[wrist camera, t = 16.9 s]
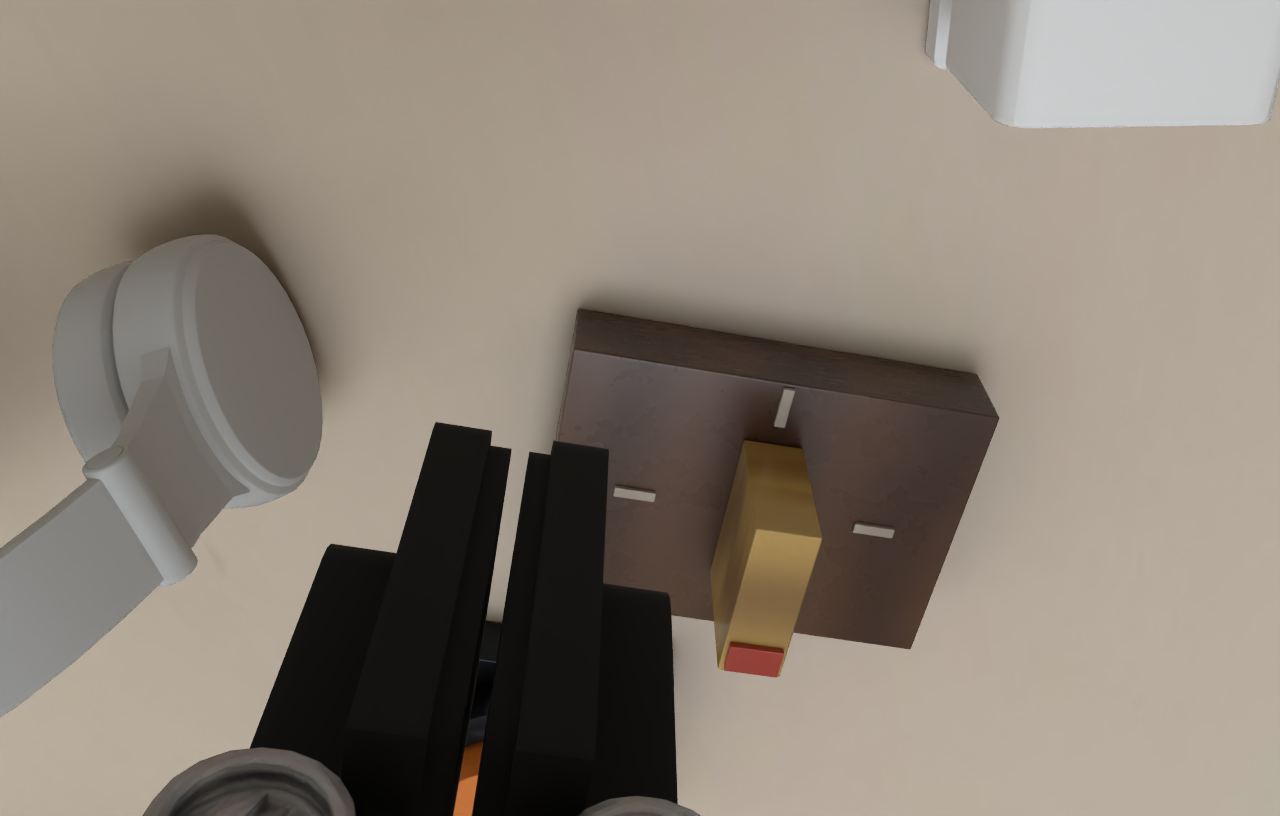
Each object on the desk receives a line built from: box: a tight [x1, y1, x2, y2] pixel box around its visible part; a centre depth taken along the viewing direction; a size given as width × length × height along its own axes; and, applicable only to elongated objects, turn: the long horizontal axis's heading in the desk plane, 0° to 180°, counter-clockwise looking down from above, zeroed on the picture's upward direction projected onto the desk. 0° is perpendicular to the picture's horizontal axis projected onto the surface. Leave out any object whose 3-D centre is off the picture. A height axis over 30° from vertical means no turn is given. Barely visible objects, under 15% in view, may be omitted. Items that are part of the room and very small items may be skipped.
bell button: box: [453, 742, 483, 816], centre depth 45 cm, size 4×4×2 cm
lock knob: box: [710, 440, 822, 677], centre depth 38 cm, size 6×2×5 cm, turn 170°
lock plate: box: [555, 309, 999, 649], centre depth 42 cm, size 14×10×3 cm
